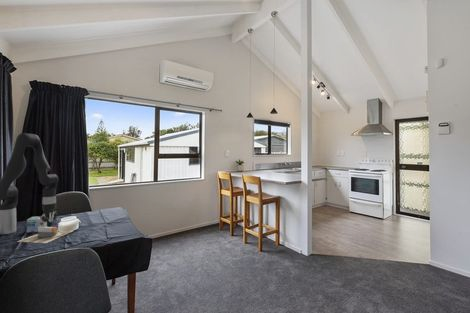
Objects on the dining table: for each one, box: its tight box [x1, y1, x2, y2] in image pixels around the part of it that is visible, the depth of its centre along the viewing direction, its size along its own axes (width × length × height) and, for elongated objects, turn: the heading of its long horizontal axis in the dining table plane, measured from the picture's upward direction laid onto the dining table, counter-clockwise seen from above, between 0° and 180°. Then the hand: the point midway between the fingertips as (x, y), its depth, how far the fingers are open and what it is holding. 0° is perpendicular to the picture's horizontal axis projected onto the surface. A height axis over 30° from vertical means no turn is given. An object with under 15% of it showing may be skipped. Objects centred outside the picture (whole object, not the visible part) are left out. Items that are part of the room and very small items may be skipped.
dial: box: [37, 226, 58, 238], centre depth 152 cm, size 12×10×6 cm
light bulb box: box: [26, 216, 47, 233], centre depth 162 cm, size 11×7×11 cm, turn 105°
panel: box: [16, 229, 73, 244], centre depth 152 cm, size 20×22×2 cm
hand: (49, 226), depth 158 cm, fingers closed
